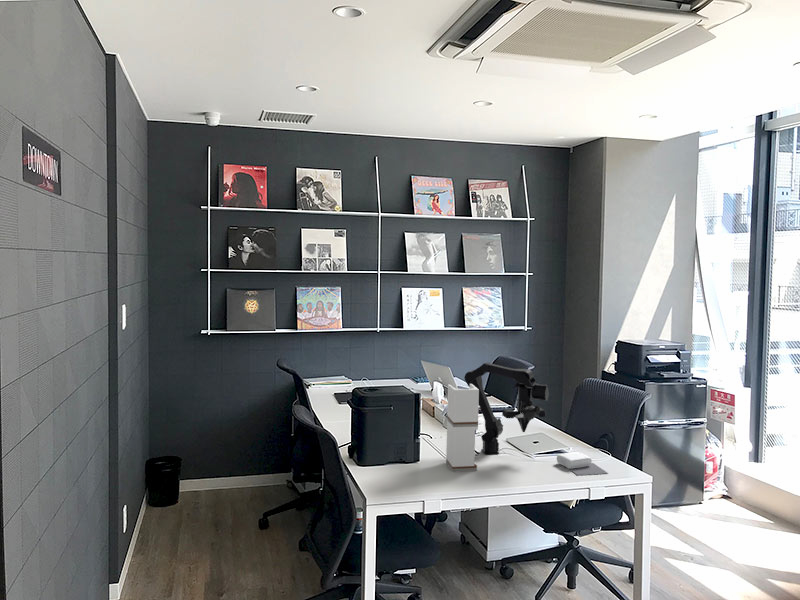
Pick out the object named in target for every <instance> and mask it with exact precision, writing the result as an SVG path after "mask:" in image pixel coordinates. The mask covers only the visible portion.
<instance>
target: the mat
mask: <svg viewBox="0 0 800 600" xmlns="http://www.w3.org/2000/svg"><path fill="white" fill-rule="evenodd" d="M567 469H568V470H569V471H570V472H572V473H573V474H575V475H576V476H593V475H607V474H608V475H609V472H608V471H606V470H604V469H603V468H601V467H599V466H598V465H597V464H595V463H594V462H592V463H591V464H590V465H589V466H585V467H579V468H573V469H571V468H567Z"/></svg>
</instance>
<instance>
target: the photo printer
mask: <svg viewBox="0 0 800 600" xmlns="http://www.w3.org/2000/svg"><path fill="white" fill-rule="evenodd" d="M556 462H557V463H558V464H559V465H562V466H563V467H565V468H566V469H568V468H571V469H573V468H579V467H585V466H589V465H590V464H591V463H593V462H592V458H591V457H590V456H588V455H587V454H584V453H581V452H578V451H577V452H576V451H570V452H565V453H559V454H558V455H557V456H556Z"/></svg>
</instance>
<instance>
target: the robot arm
mask: <svg viewBox="0 0 800 600" xmlns="http://www.w3.org/2000/svg"><path fill="white" fill-rule="evenodd" d="M486 373H489V374H494V375H497V376H501V377H506V378H509V379H512V380H514V381H515V382H516V383H515V384H514V385H513V387H514V388H518V392H517V393H518V394H517V395H518V397H517V398H516V401H517V407H516V410H513V409H511V408H507V409H506V408H505V409H503V411H502V413H501V414H502V416H503V417H504V418H506V419H514V418H516V419H517V421H518V423H519V426H520V430H521V432H522V433H526V430H527V427H528V425H529V423H530V421H531V420H534V419H535V418H536V416H538V417H539V418H545V417H546V416H547V412H546V410H544V409H543V408H541V407H540V405H537V406H536V405H535V406H534V405H533V401H532V399H533V400H539V401H546V402H547V401H548V400H549V396H550V391H549V388H548V387H549V386H548V384H538V381H537V380H536V378H535V377H534V373H533V371H532V370H531V369H528V368H512V367H508V366H507V367H506V366H504V365H498V364H496V363H490V362H488V361H487V362H485V363H482V365H480V366H479V367H477V368H476V369H472V370H470V371H467V372H466V373H465V375H464V381H465V383H466V385H467V387H468V388H470V384H473V385H474V386H475V387H476V388H478V389H479V407H478V408H479V409H480V411H481V414H482V416H483V418H484V428H485V432H484V434H482V435H481V436H480V437H481V441H482V449H481V452H483V454H485V455H498V454H500V453H499V450H500V449H499V445H500V443H499V439H498V438H499V436H500V435H501V434H503V431H504V428H503V427H504V425H503V424H502V420H501V417H500V418H497V417H496V416H495V415H494V412H493V409H492V408H491V405H490V403H489V400H488V398H487V395H486V393H485V389H484V388H483V376H485V374H486Z"/></svg>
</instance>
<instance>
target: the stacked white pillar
mask: <svg viewBox="0 0 800 600" xmlns="http://www.w3.org/2000/svg"><path fill="white" fill-rule="evenodd" d="M446 407H447V408H446V409H447V412H446V413H447V414H446V451H445V452H446V454H445V455H446V456H445V457H446V458H445V460H446V461H445V463H446V465H447V466H448V467H449V470H450V471H451V472H453V473H455V472H473V471H474V472H475V471H478V469H477V468H478V466H477V464H476V463H475V454H476V453H475V452H476V450H475V448H476V445H475V444H476V431H477V430H479V408H480V407H479V389H478V388H476V387H475V386H474V385H473V384H470V387H469V388H468V389H467V388H457V387H454V386H453V385H452V384H450V383H449V384H447V406H446Z"/></svg>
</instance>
